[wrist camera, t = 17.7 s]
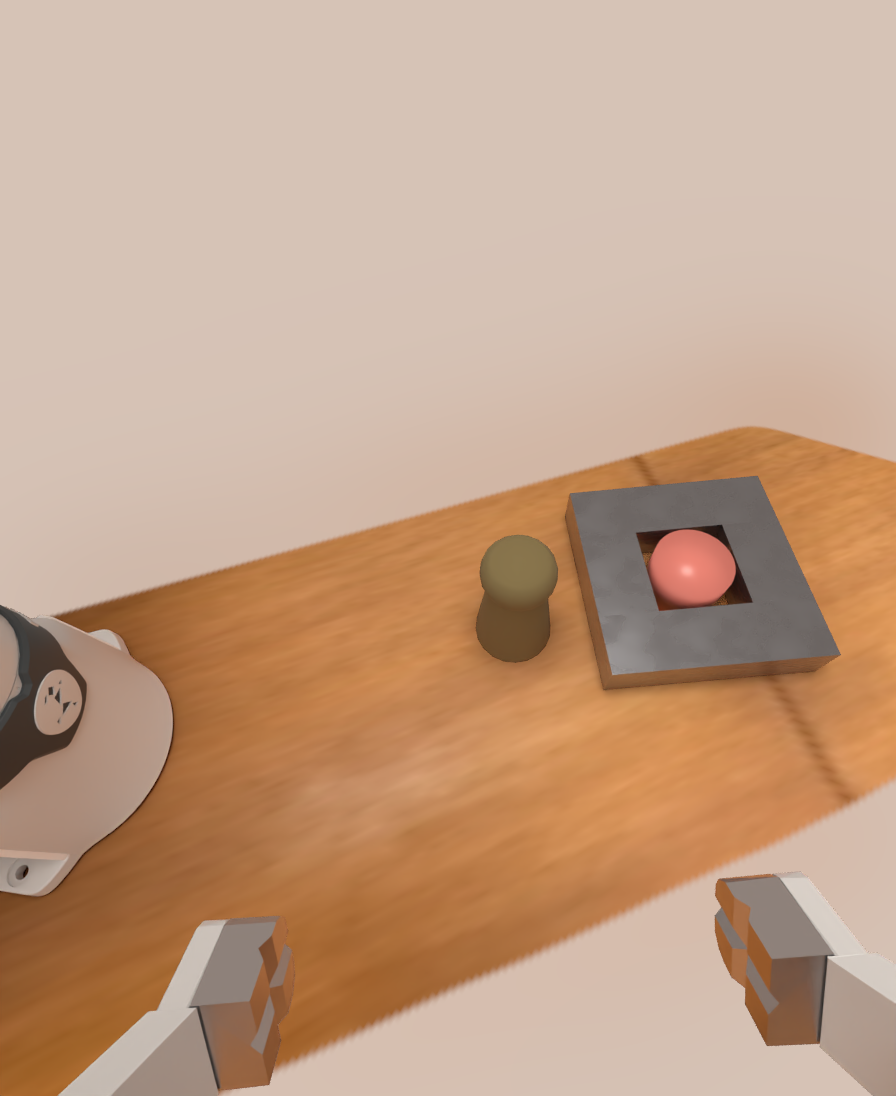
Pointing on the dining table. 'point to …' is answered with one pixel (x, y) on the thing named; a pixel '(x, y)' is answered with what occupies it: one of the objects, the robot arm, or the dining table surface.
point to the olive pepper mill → (516, 598)
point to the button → (690, 570)
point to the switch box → (706, 632)
